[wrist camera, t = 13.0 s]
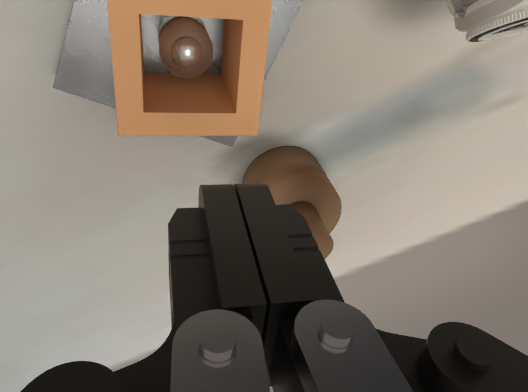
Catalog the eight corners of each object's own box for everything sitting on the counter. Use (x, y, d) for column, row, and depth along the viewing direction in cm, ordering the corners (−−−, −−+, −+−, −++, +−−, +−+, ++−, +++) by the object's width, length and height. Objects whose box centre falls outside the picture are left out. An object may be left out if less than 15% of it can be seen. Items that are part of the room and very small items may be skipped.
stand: (335, 160, 30) (378, 222, 25) (297, 222, 33) (328, 291, 27) (264, 135, 28) (294, 197, 23) (229, 203, 31) (248, 274, 25)
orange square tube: (249, -29, 21) (273, -8, 17) (239, 94, 25) (257, 135, 21) (113, -41, 20) (104, -21, 16) (123, 92, 23) (118, 135, 19)
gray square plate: (304, -26, 23) (337, -7, 19) (228, 135, 28) (242, 177, 24) (110, -133, 19) (101, -137, 15) (57, 77, 23) (39, 116, 19)
